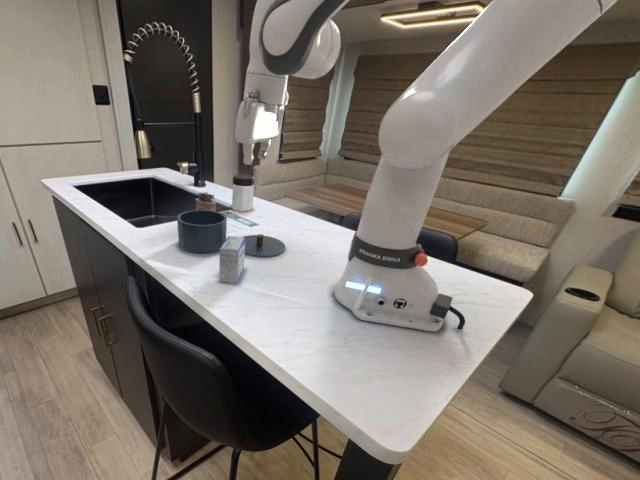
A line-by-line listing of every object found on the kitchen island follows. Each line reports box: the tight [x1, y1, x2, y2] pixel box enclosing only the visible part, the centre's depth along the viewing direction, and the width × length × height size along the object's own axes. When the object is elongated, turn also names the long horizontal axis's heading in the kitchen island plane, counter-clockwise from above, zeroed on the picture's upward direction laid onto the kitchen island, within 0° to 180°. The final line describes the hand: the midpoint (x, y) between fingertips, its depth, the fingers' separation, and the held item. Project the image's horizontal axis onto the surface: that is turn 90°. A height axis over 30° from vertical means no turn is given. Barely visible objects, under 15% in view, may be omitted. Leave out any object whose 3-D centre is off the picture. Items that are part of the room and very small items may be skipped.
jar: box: [231, 173, 255, 213], centre depth 118 cm, size 9×8×12 cm
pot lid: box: [242, 233, 287, 258], centre depth 89 cm, size 15×15×4 cm
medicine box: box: [219, 235, 245, 285], centre depth 73 cm, size 8×4×9 cm, turn 168°
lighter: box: [194, 191, 217, 212], centre depth 103 cm, size 8×3×10 cm, turn 55°
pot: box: [176, 209, 228, 255], centre depth 87 cm, size 13×14×8 cm
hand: (255, 161), depth 74 cm, fingers open, 8 cm apart
